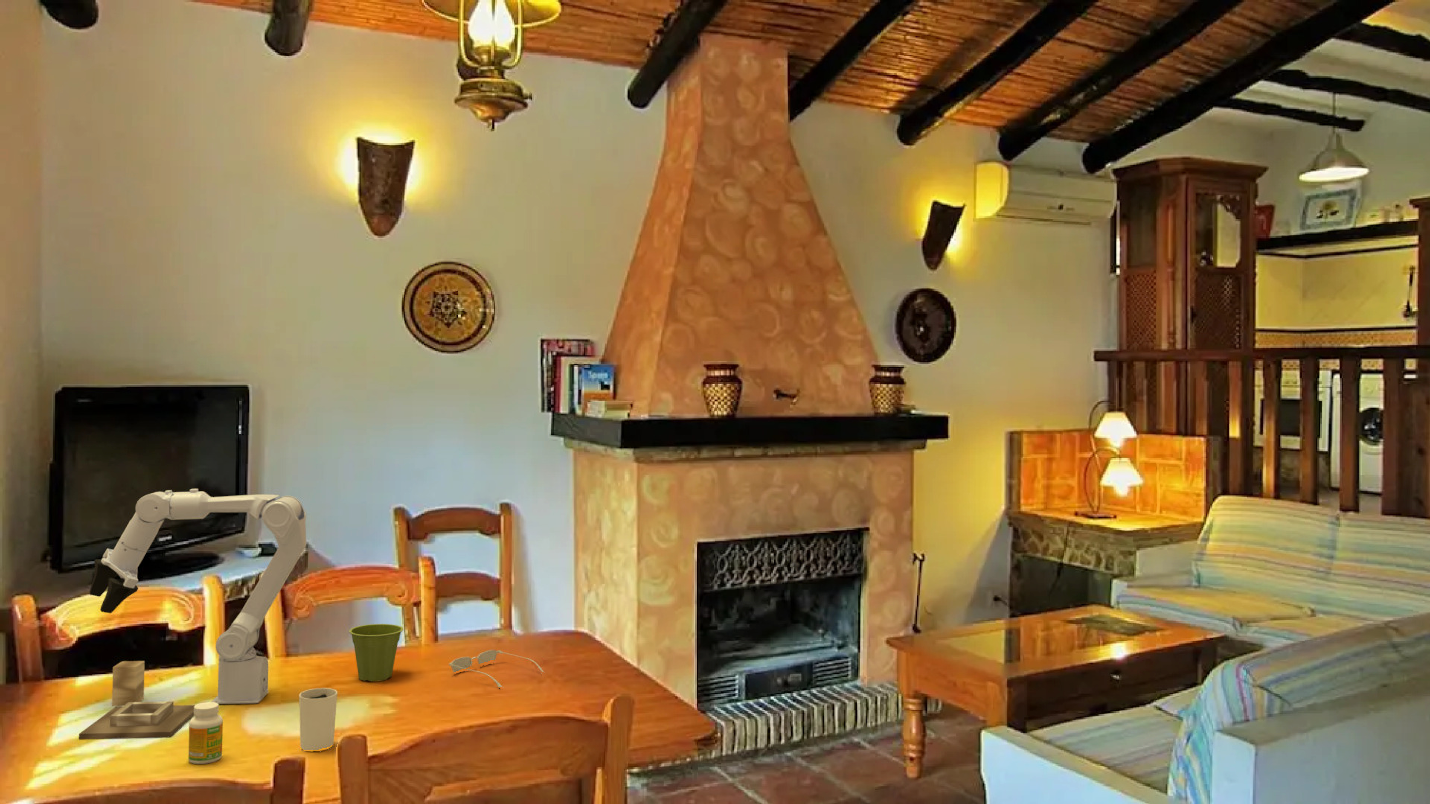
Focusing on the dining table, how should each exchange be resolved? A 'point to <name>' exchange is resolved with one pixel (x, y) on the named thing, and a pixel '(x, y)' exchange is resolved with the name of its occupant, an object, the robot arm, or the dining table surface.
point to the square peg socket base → (140, 721)
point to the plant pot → (375, 650)
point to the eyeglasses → (483, 657)
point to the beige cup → (317, 718)
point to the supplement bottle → (205, 734)
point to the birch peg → (128, 682)
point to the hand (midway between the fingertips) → (100, 603)
